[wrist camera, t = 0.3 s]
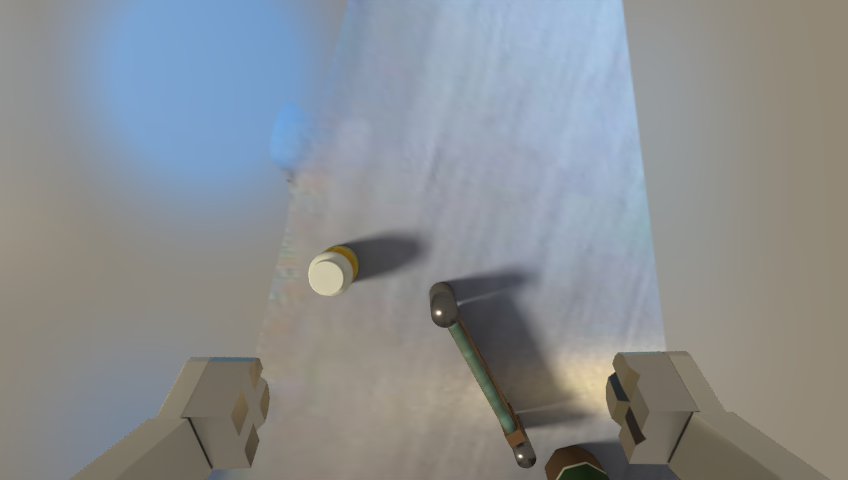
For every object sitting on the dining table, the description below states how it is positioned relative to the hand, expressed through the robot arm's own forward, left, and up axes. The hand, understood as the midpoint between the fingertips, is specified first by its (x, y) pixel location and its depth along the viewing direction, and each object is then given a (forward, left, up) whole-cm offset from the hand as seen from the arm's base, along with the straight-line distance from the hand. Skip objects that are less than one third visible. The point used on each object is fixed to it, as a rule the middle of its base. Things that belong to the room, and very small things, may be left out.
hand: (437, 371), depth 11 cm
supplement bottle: (0, +13, -53) cm, 54 cm away
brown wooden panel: (-21, +3, -52) cm, 56 cm away
